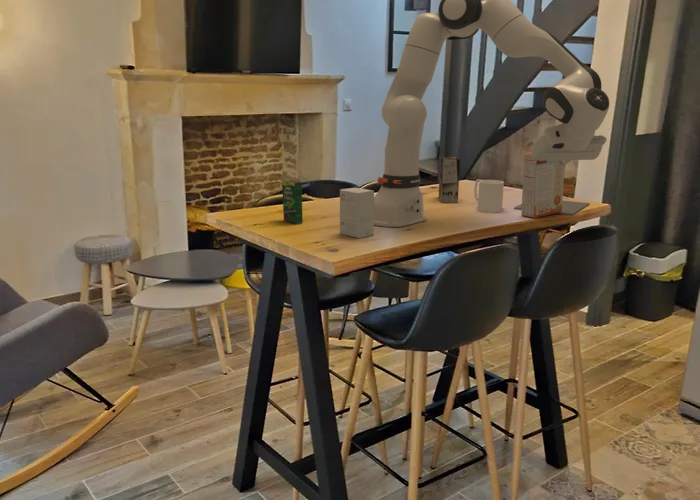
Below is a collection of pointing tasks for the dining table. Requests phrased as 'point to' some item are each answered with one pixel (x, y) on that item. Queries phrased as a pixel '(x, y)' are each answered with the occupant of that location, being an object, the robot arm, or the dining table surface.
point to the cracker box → (541, 187)
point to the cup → (489, 195)
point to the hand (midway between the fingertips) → (557, 165)
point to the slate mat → (567, 207)
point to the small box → (357, 212)
